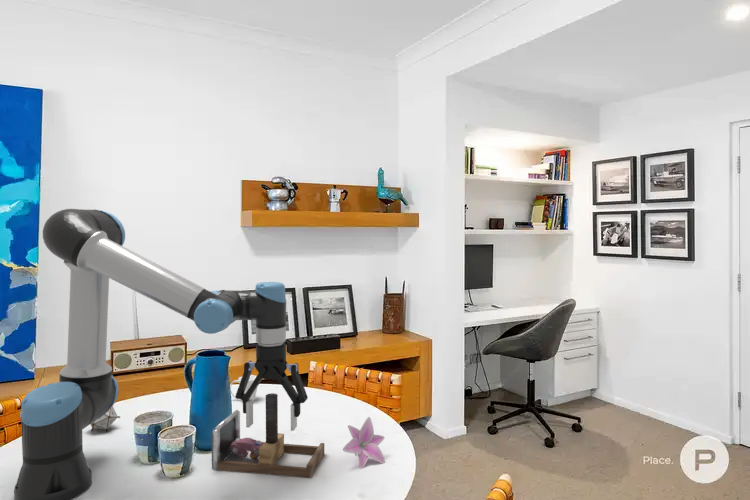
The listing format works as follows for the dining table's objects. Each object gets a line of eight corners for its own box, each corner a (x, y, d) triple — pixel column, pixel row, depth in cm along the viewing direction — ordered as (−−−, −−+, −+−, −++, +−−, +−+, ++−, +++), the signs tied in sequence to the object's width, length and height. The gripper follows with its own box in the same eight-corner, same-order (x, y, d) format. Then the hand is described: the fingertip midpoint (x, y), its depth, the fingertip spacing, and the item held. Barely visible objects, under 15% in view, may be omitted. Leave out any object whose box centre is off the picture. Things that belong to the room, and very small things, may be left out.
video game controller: (231, 462, 134) (225, 444, 131) (239, 448, 138) (233, 430, 135) (266, 467, 132) (260, 448, 129) (272, 452, 136) (267, 434, 132)
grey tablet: (218, 470, 127) (217, 428, 126) (210, 469, 127) (209, 428, 127) (241, 447, 140) (240, 409, 140) (234, 446, 141) (233, 408, 140)
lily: (334, 472, 128) (347, 445, 125) (335, 436, 139) (347, 411, 135) (379, 482, 131) (393, 456, 127) (377, 446, 141) (389, 422, 137)
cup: (256, 404, 174) (255, 380, 173) (226, 404, 174) (226, 380, 174) (261, 397, 181) (260, 374, 180) (233, 397, 181) (232, 374, 181)
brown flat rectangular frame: (310, 477, 123) (310, 465, 123) (216, 469, 127) (216, 457, 127) (324, 454, 136) (324, 443, 136) (238, 447, 140) (238, 436, 140)
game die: (110, 439, 153) (131, 410, 156) (92, 441, 145) (115, 410, 148) (89, 422, 156) (111, 393, 158) (71, 422, 148) (94, 392, 150)
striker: (270, 469, 126) (270, 402, 126) (258, 468, 127) (258, 401, 126) (284, 452, 136) (283, 389, 136) (273, 451, 137) (273, 388, 136)
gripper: (319, 341, 132) (320, 424, 133) (234, 337, 136) (234, 418, 137) (311, 348, 125) (311, 436, 126) (221, 344, 128) (221, 429, 129)
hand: (271, 427), depth 131 cm, fingers open, 11 cm apart
